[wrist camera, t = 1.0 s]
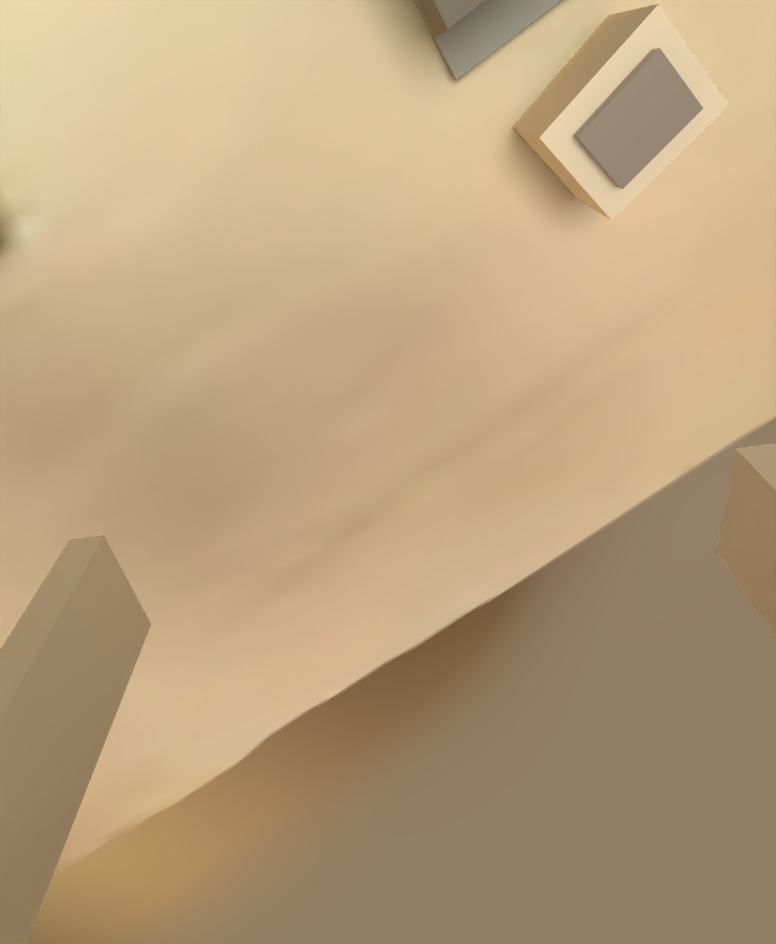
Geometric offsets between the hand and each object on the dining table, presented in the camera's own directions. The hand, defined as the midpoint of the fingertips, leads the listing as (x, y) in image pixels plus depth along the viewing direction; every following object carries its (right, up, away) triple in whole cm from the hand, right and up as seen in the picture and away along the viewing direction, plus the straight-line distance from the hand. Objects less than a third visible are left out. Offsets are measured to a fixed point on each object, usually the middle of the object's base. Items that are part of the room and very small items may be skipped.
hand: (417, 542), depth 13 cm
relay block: (+9, +19, +17) cm, 28 cm away
